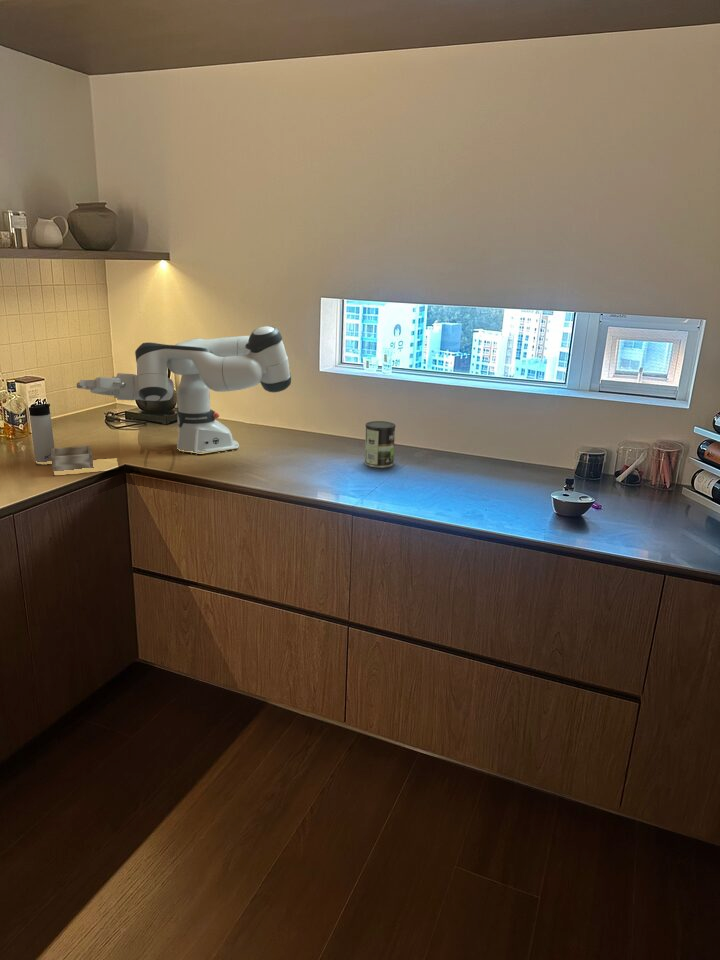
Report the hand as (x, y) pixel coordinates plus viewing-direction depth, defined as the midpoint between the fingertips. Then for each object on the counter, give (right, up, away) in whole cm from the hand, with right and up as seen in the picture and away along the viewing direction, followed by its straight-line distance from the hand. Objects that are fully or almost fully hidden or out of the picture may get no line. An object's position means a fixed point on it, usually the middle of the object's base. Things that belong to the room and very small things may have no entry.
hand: (78, 384), depth 218 cm
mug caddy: (+2, -27, +3) cm, 27 cm away
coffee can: (+98, -25, +17) cm, 103 cm away
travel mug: (-13, -26, +7) cm, 30 cm away
